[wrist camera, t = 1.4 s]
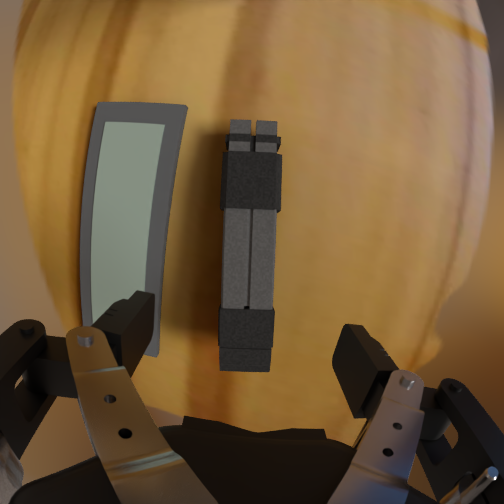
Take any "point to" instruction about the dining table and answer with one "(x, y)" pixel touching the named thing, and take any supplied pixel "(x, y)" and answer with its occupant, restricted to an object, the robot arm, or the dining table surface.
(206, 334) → the dining table surface
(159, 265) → the charging mat
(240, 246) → the gun
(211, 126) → the dining table surface
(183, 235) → the dining table surface
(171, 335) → the dining table surface
